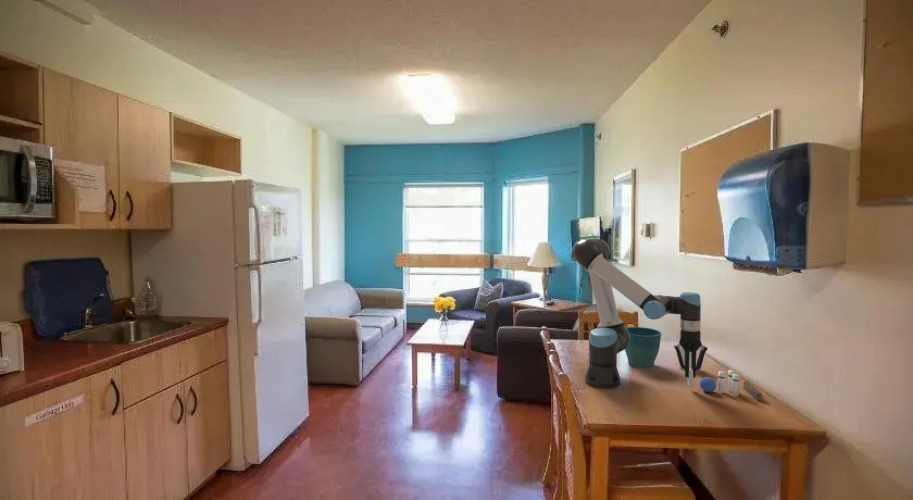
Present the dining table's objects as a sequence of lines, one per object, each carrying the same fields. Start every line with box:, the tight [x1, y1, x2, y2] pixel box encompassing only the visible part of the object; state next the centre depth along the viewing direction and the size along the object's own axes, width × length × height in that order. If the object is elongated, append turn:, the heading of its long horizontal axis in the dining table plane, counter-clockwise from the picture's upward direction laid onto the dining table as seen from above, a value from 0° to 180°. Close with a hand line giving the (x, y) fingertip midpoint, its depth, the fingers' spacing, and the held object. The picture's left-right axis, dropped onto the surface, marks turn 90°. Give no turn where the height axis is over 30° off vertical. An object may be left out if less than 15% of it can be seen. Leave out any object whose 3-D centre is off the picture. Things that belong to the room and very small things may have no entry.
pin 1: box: [727, 369, 736, 393], centre depth 187 cm, size 2×2×8 cm
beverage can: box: [678, 346, 699, 371], centre depth 215 cm, size 8×8×12 cm
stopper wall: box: [742, 380, 763, 402], centre depth 183 cm, size 2×14×3 cm, turn 166°
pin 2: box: [731, 373, 740, 398], centre depth 182 cm, size 2×2×8 cm
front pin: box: [717, 370, 726, 394], centre depth 185 cm, size 2×2×8 cm
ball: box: [699, 376, 717, 393], centre depth 186 cm, size 6×6×6 cm
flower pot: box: [624, 326, 663, 369], centre depth 222 cm, size 18×18×17 cm
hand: (690, 384), depth 188 cm, fingers closed
